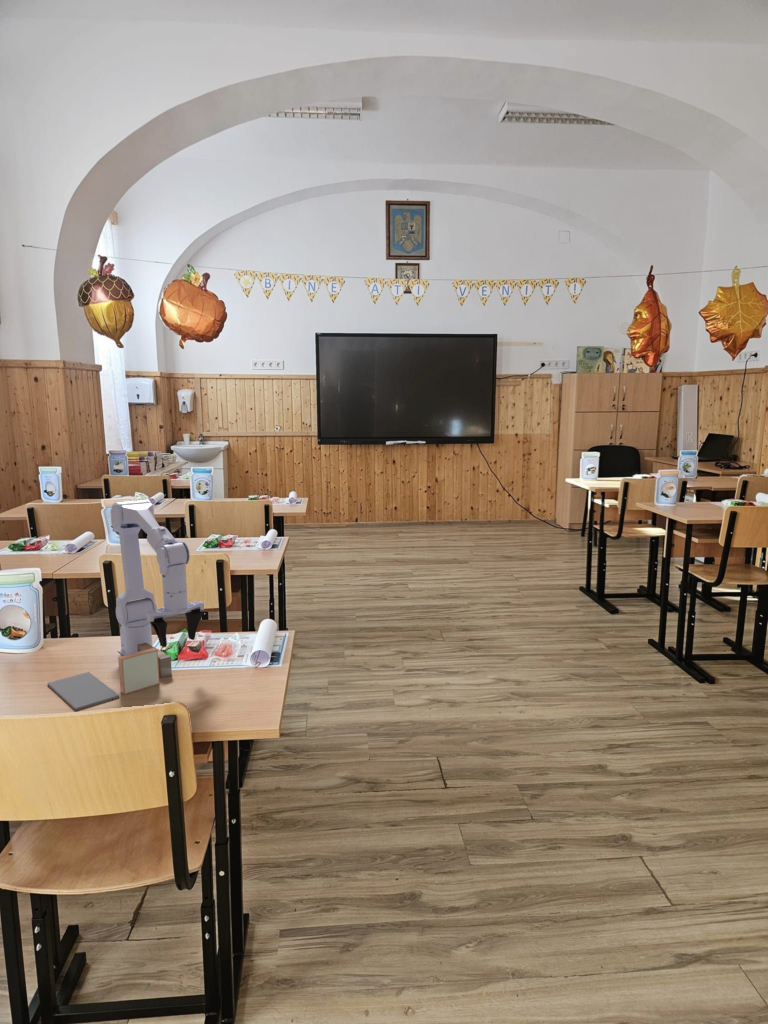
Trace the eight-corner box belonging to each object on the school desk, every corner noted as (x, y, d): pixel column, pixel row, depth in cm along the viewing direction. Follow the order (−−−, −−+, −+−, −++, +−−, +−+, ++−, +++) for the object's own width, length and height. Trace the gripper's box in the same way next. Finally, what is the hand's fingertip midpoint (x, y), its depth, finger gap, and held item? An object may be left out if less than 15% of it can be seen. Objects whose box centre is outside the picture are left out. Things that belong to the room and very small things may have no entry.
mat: (47, 685, 162) (47, 682, 162) (88, 674, 169) (88, 671, 169) (75, 710, 148) (75, 708, 148) (119, 697, 154) (119, 695, 154)
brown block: (138, 662, 177) (137, 644, 176) (147, 659, 179) (146, 642, 178) (162, 677, 166) (161, 659, 165) (171, 674, 168) (170, 656, 167)
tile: (120, 692, 158) (118, 657, 156) (156, 681, 164) (153, 647, 162) (124, 694, 156) (121, 659, 155) (159, 684, 162) (157, 649, 161)
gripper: (154, 599, 154) (157, 653, 156) (209, 588, 164) (211, 639, 166) (141, 593, 159) (144, 646, 161) (195, 583, 169) (197, 632, 171)
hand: (177, 642), depth 164 cm, fingers open, 7 cm apart
